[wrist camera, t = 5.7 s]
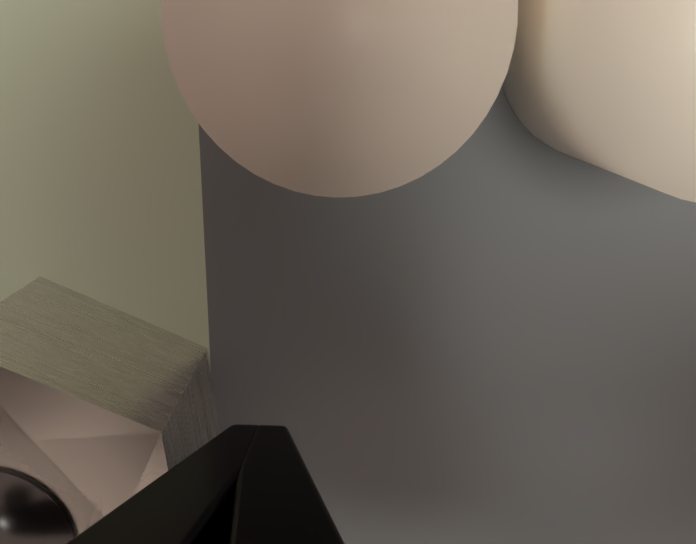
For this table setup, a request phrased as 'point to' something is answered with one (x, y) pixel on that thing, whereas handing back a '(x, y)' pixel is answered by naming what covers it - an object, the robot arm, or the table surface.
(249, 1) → the spacers
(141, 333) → the star tealight holder
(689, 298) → the slate board
